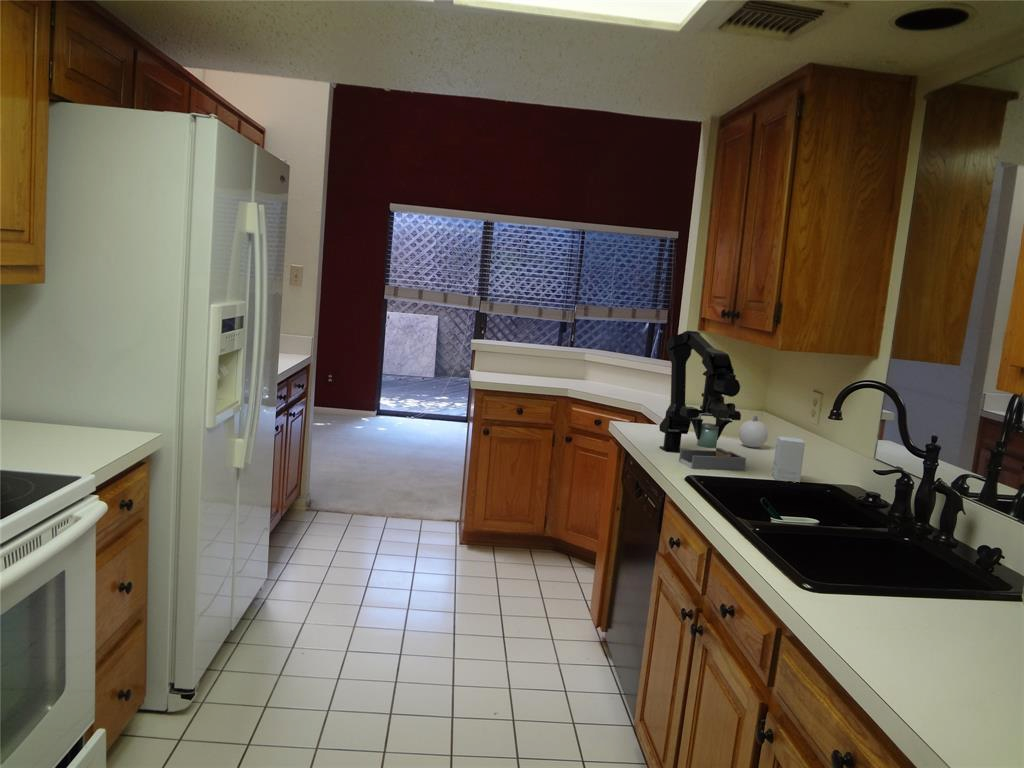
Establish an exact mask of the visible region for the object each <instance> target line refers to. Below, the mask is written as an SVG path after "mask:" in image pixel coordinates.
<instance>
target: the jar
mask: <svg viewBox="0 0 1024 768" xmlns="http://www.w3.org/2000/svg"><path fill="white" fill-rule="evenodd" d="M718 429H719V425H716V423H710V422H702V423H701V433H700V439H699V440H698V439H697V441H696V442H697V444H696V446H698V447H701V448H704V449H705V448H706V449H716V448H717V446H718V445H717V444H718V440H717V437H718Z"/></svg>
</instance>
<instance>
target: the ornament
mask: <svg viewBox="0 0 1024 768" xmlns="http://www.w3.org/2000/svg"><path fill="white" fill-rule="evenodd" d="M768 436H769V430H768V427H767V426H766V425H765V423H763V422H762V421H760V420H759V417H758V415H754V416H753V417H752V419H750V420H746V421H744V422H743V423H742V424H741V426H740V428H739V430H738V437H739V438H738V439H739V440H740V442H741V443H742V444H743V445H744V446H746V447H747V448H748V447H749V448H760V447H762V446H764V445H765V443H766V442H767V441H768Z"/></svg>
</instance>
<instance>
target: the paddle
mask: <svg viewBox="0 0 1024 768" xmlns="http://www.w3.org/2000/svg"><path fill="white" fill-rule="evenodd" d="M715 451H716V457H731V454H732V453H730V452H728V451H729V450H725V449H723V448H720V447H716V448H715Z"/></svg>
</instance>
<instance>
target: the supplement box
mask: <svg viewBox="0 0 1024 768" xmlns="http://www.w3.org/2000/svg"><path fill="white" fill-rule="evenodd" d="M805 445H806V441H804V440H803V439H801V438H798V437H787V436H780V435H779V436H777V437H776V443H775V450H774V460H773V466H772V472H771V473H772V474H771V476H773V478H774V479H775V480H777V481H780V482H781V481H783V482H788V481H798V482H799V483H800V482H801V476H802V468H803V463H804V461H803V460H804V455H805V454H804V453H805V447H806V446H805Z"/></svg>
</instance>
